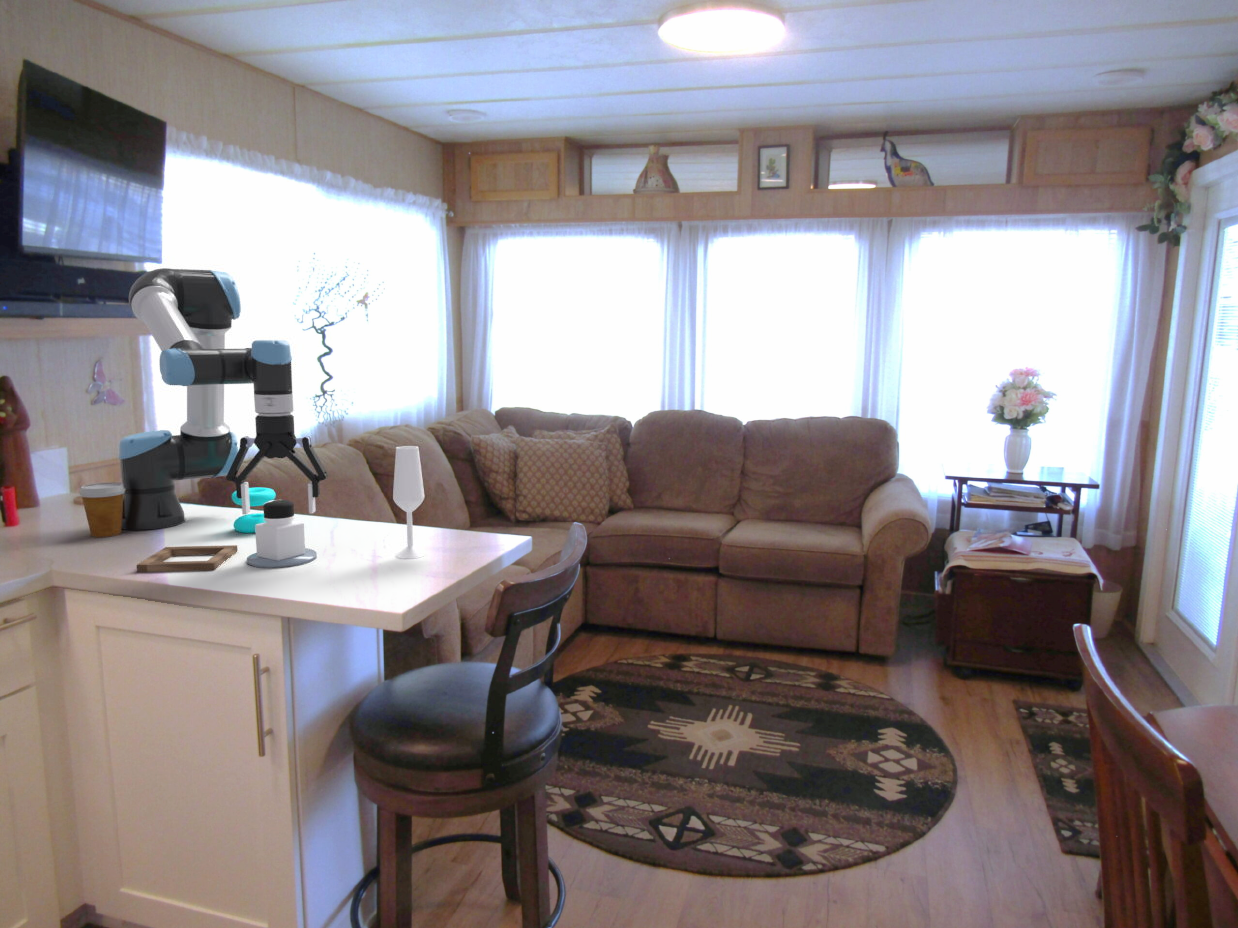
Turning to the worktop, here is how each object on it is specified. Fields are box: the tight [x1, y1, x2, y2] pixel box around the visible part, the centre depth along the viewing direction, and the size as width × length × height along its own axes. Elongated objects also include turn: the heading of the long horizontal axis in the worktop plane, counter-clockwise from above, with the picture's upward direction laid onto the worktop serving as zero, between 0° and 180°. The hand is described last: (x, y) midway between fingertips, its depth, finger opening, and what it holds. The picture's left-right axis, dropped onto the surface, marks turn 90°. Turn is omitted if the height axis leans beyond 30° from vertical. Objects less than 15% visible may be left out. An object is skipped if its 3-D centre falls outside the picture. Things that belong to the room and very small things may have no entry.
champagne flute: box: [392, 445, 427, 560], centre depth 185 cm, size 7×7×24 cm
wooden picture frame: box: [135, 544, 238, 573], centre depth 180 cm, size 15×15×2 cm
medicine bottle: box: [254, 499, 306, 561], centre depth 181 cm, size 7×7×12 cm
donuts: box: [231, 486, 277, 534], centre depth 209 cm, size 10×10×10 cm
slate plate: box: [246, 547, 318, 568], centre depth 182 cm, size 14×14×1 cm
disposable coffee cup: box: [78, 482, 126, 538], centre depth 203 cm, size 10×10×12 cm
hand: (279, 512), depth 181 cm, fingers open, 13 cm apart
